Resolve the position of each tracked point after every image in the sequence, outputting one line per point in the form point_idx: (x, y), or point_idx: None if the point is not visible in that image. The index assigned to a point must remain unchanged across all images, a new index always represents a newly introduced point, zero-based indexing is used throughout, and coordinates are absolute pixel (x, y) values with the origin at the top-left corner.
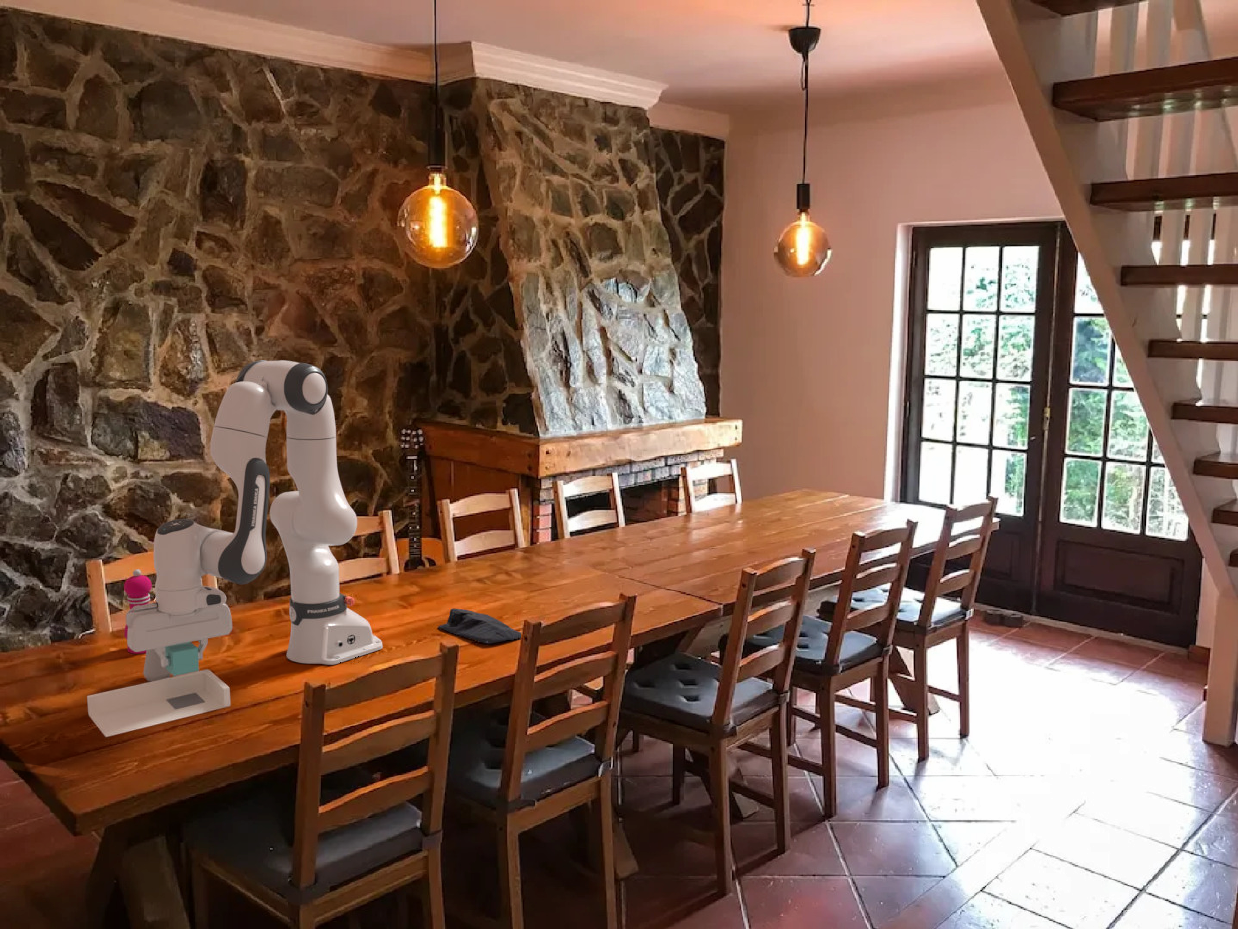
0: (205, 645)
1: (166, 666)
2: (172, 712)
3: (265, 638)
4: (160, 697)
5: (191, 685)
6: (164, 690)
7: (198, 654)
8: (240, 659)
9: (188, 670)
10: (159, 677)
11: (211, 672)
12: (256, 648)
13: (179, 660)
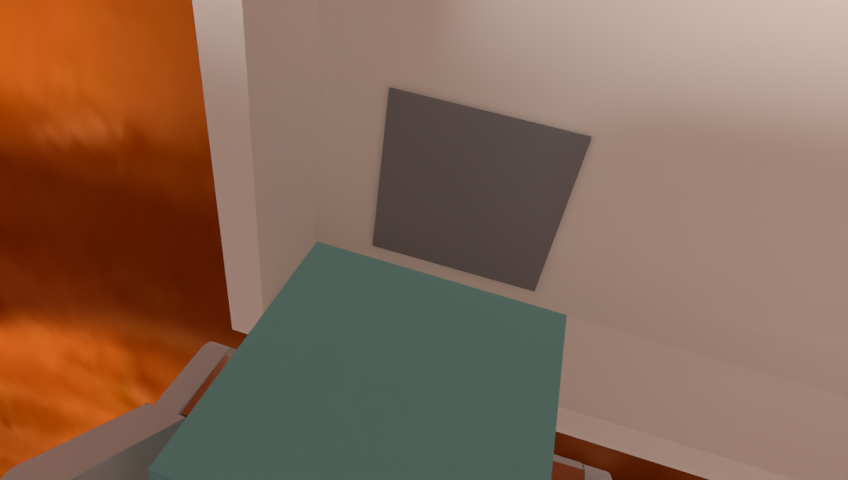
0: (61, 456)
1: (577, 462)
2: (641, 105)
3: (23, 419)
4: None
5: None
6: None
7: None
8: (112, 373)
9: (407, 289)
10: None
11: (227, 278)
12: (53, 393)
13: (467, 437)
